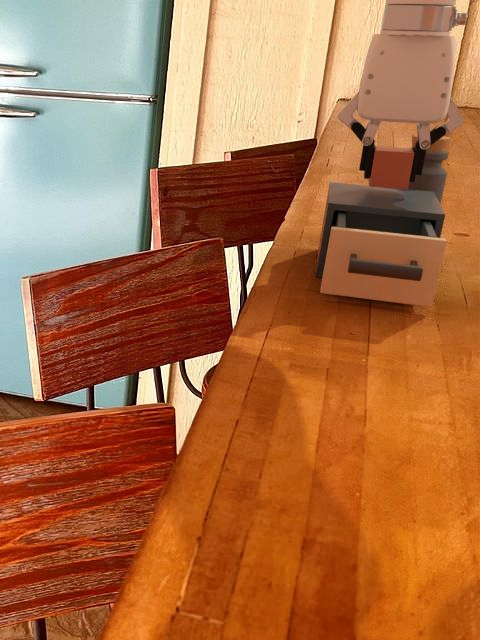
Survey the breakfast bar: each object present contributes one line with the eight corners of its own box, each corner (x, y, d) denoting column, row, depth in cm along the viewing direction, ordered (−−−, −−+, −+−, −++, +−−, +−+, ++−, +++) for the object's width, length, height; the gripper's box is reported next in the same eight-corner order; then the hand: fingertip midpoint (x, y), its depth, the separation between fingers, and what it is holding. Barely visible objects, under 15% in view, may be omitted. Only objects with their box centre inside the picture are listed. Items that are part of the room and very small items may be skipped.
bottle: (434, 245, 124) (458, 136, 118) (426, 254, 120) (451, 140, 114) (390, 238, 127) (412, 131, 121) (381, 246, 123) (403, 136, 117)
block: (407, 189, 108) (414, 152, 107) (369, 186, 110) (375, 150, 108) (405, 183, 112) (411, 148, 110) (368, 180, 113) (374, 145, 112)
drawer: (436, 321, 90) (452, 252, 88) (319, 306, 94) (331, 238, 91) (421, 274, 107) (435, 215, 104) (322, 263, 110) (332, 204, 107)
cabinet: (428, 291, 103) (445, 214, 100) (315, 277, 107) (328, 202, 104) (418, 260, 116) (433, 191, 113) (318, 249, 120) (329, 182, 117)
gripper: (491, 24, 104) (459, 179, 111) (340, 20, 110) (318, 169, 116) (502, 24, 98) (466, 189, 105) (340, 20, 103) (316, 178, 110)
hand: (388, 177), depth 110 cm, fingers closed on block, 4 cm apart
